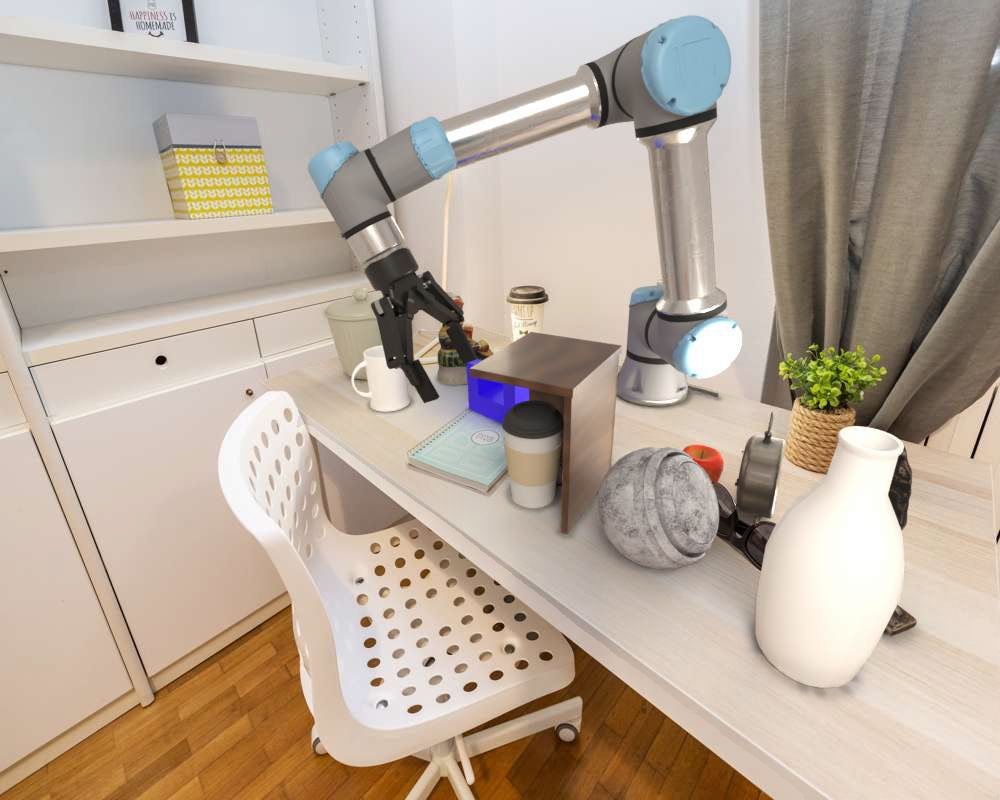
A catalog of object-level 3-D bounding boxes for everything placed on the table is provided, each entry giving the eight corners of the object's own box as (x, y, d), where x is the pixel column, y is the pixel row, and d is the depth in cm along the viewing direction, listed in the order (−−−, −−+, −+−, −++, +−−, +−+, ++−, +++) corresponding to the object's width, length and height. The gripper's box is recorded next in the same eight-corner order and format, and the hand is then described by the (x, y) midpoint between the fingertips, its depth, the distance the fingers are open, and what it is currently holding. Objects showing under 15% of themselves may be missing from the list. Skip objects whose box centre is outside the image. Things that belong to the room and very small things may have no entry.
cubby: (477, 504, 78) (469, 368, 68) (531, 451, 91) (530, 331, 82) (568, 536, 71) (573, 389, 61) (612, 473, 84) (622, 345, 75)
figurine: (476, 391, 115) (471, 304, 107) (422, 380, 122) (413, 297, 114) (503, 373, 125) (500, 291, 116) (451, 363, 132) (445, 285, 123)
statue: (889, 642, 54) (955, 484, 46) (828, 595, 60) (876, 447, 51) (916, 629, 55) (985, 473, 47) (853, 584, 61) (904, 438, 53)
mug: (361, 419, 105) (352, 364, 99) (350, 404, 111) (341, 352, 106) (416, 405, 110) (409, 353, 104) (402, 392, 116) (396, 341, 111)
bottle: (828, 724, 47) (918, 493, 36) (722, 638, 55) (768, 430, 44) (888, 664, 52) (982, 446, 41) (782, 593, 60) (837, 398, 50)
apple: (666, 486, 81) (671, 444, 77) (697, 477, 83) (704, 436, 79) (694, 508, 75) (701, 465, 72) (727, 498, 77) (735, 455, 74)
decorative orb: (681, 615, 58) (699, 507, 52) (573, 559, 67) (577, 460, 60) (727, 544, 68) (746, 447, 62) (628, 503, 77) (636, 414, 70)
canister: (384, 354, 139) (374, 276, 130) (423, 371, 127) (414, 286, 118) (322, 373, 128) (305, 289, 119) (357, 393, 116) (342, 302, 107)
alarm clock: (766, 541, 69) (792, 435, 62) (723, 528, 71) (743, 425, 64) (776, 498, 77) (799, 400, 70) (737, 488, 80) (756, 392, 73)
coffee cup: (495, 505, 77) (491, 417, 71) (516, 473, 85) (514, 391, 79) (552, 518, 74) (554, 427, 68) (569, 484, 82) (572, 399, 75)
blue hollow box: (515, 430, 98) (514, 379, 94) (469, 409, 107) (466, 362, 103) (583, 395, 111) (585, 350, 107) (536, 379, 120) (536, 336, 116)
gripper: (409, 244, 87) (467, 353, 94) (312, 292, 68) (393, 425, 74) (443, 226, 83) (500, 341, 90) (349, 271, 64) (432, 414, 70)
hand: (452, 379), depth 82 cm, fingers open, 13 cm apart
